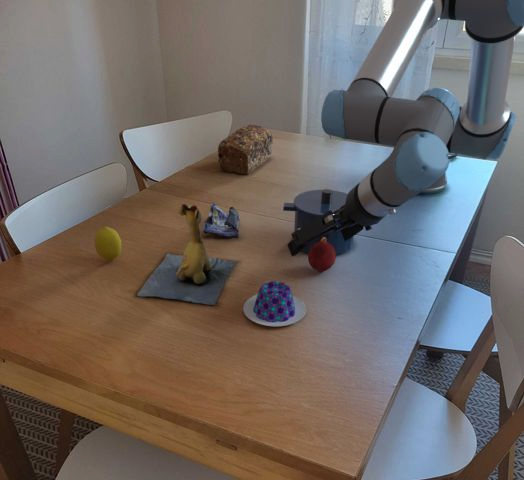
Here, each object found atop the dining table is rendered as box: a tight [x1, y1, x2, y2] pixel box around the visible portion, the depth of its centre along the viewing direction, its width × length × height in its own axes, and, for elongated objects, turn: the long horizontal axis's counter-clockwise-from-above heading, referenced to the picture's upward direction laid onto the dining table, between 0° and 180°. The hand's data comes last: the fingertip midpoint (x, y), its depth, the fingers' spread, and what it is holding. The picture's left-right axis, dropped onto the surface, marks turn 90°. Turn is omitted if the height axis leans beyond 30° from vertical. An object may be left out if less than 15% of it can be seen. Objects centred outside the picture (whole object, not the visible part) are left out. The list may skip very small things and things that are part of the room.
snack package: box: [202, 202, 241, 240], centre depth 132 cm, size 12×6×12 cm
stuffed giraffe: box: [136, 203, 238, 306], centre depth 110 cm, size 16×18×16 cm
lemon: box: [94, 226, 122, 262], centre depth 118 cm, size 6×6×8 cm
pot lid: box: [293, 188, 348, 217], centre depth 122 cm, size 15×15×4 cm
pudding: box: [242, 280, 307, 327], centre depth 103 cm, size 12×12×5 cm
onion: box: [307, 237, 337, 273], centre depth 115 cm, size 6×6×8 cm
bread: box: [217, 124, 274, 176], centre depth 167 cm, size 19×11×10 cm, turn 155°
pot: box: [282, 202, 354, 256], centre depth 125 cm, size 14×19×10 cm
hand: (318, 242), depth 115 cm, fingers open, 13 cm apart
